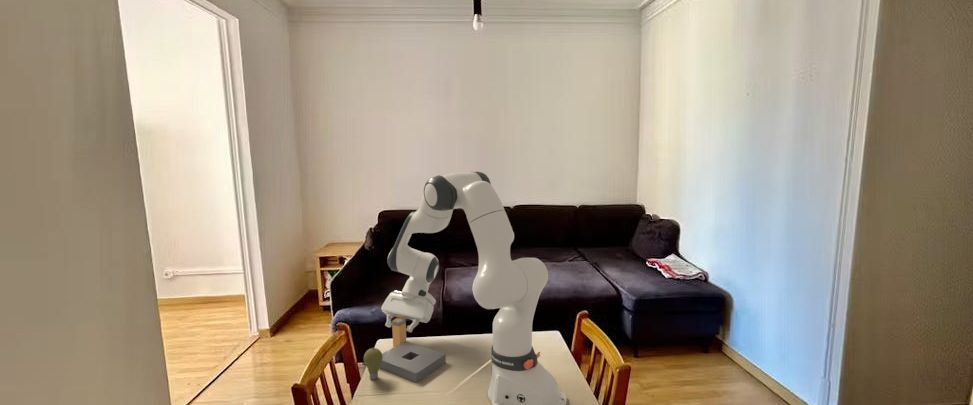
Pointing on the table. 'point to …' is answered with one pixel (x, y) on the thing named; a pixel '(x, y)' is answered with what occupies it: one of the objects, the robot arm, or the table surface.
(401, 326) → the plug
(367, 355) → the light bulb
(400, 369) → the grey block with hole
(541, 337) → the table surface
